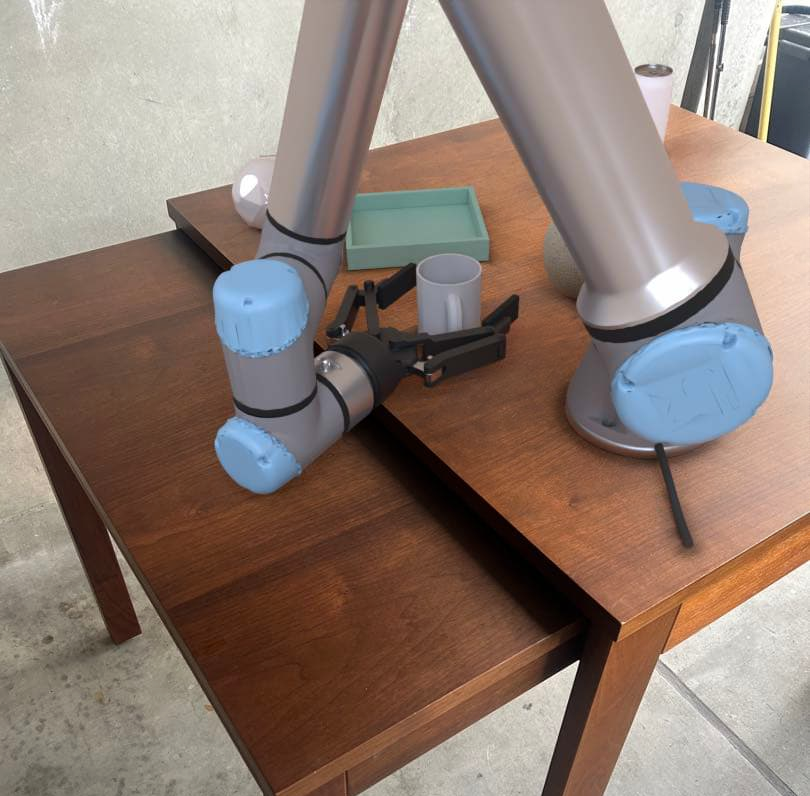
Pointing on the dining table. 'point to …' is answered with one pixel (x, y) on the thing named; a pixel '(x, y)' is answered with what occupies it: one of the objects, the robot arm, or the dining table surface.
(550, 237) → the fruit
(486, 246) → the tray
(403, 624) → the dining table surface
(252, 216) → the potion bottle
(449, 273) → the cup
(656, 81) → the can
